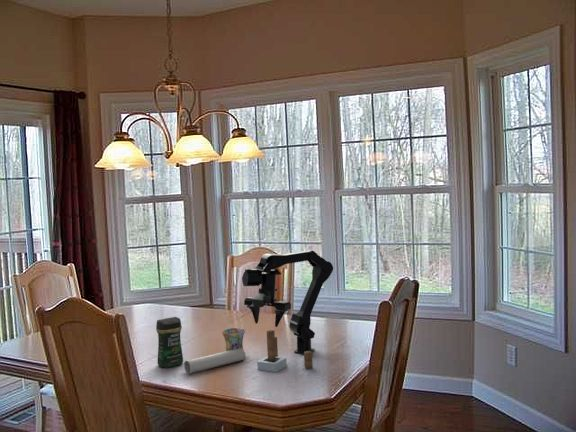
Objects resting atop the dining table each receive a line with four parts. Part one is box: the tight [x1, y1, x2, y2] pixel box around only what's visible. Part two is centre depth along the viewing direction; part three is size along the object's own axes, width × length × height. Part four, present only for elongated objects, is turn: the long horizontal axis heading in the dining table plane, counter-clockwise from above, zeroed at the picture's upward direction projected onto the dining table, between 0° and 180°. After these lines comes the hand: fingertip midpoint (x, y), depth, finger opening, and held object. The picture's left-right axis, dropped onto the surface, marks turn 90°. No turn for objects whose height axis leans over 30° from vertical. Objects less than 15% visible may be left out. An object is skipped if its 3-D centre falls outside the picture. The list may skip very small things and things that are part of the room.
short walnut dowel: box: [303, 351, 313, 370], centre depth 207 cm, size 3×3×6 cm
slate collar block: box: [256, 355, 288, 373], centre depth 210 cm, size 8×8×3 cm
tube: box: [183, 348, 246, 375], centre depth 214 cm, size 5×5×25 cm
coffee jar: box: [156, 316, 184, 369], centre depth 218 cm, size 10×8×19 cm
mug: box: [221, 327, 246, 351], centre depth 226 cm, size 12×9×11 cm
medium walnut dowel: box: [275, 336, 279, 357], centre depth 218 cm, size 3×3×9 cm
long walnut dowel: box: [266, 329, 276, 362], centre depth 209 cm, size 3×3×14 cm
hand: (266, 325), depth 219 cm, fingers open, 9 cm apart
